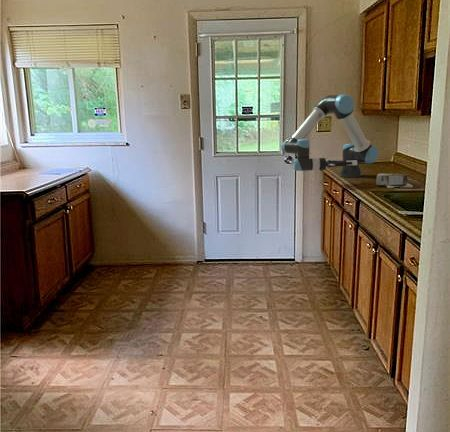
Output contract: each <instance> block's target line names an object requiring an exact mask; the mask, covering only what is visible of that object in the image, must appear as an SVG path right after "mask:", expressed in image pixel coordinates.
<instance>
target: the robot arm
mask: <svg viewBox="0 0 450 432" xmlns="http://www.w3.org/2000/svg"><path fill="white" fill-rule="evenodd" d="M354 104H355V102H354V99H353V98H352V96H351V95H349V94H344V93H342V94H329V95H326V96H324V97H323V98H321V100H319V101H318V102H317V103H316V104H315V105H314V106H313V108H312V112H310V114H309V115H308V117H306V119H305V120H304V121H303V122H302V123H301V125H300V126H299V127H298V128H297V130H296V131H295V132H294V133H293V134H292V136H290V138H289V139H288V140H285V141H283V142H282V144H281V147H280V148H281V151H282V152H283V153H286V154H295V155H296V158H294V159H293V169H294V171H295V172H305V171H313V172H316V171H325V170H326V168H327V167H328V168H336V167H341V168H340V170H339V177H341V178H360V177H362V169H361V166H360V163H362V164H363V163H364V164H374V163H375V162H376V161H377V159H378V156H379V148H378V147H377V146H375V145H372V142H371V141H370V140H368V139H367V138H366V136H365V135H364V133H363V131H362V129H361V127H360V124H359V123H358V121H357V119H356V117H355V115H354V108H355V105H354ZM330 114H333V115H335V118H336V119H337V120H340V122H341V123H342V125H343V127H344V129H345V131H346V133H347V134H348V137H349V139H350V140H351V142H352V143H345V144H343V146H342V160H327V159H326V158H325V157H319V158H318V157H315V158H314V157H312V158H310V140H309V139H308V138H307V137H308V136H309V135H310V134H311V132H312V131H313V130H314V128H315V127H317V125H318V124H319V122H320V121H321V120H322V119H324V118H325V117H326V116H327V115H330Z"/></svg>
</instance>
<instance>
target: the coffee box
mask: <svg viewBox="0 0 450 432" xmlns="http://www.w3.org/2000/svg"><path fill="white" fill-rule="evenodd" d="M407 183H408V174H402V173H399V174H398V173H385V172H384V173H382V172H381V173H378V174H377V175H376V181H375V184H376V185H378V186H384V185H388V186H402V187H401V188H404V187H403V186H405V185H407Z"/></svg>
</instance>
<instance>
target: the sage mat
mask: <svg viewBox="0 0 450 432" xmlns="http://www.w3.org/2000/svg"><path fill="white" fill-rule="evenodd" d="M383 186H384V187H386V188H389V189H392V188H393V189H394V187H400V188H413V187H414V186H413V184H410V183H408V182H407V185H405V186H403V187H402V186H388V185H383Z"/></svg>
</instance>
